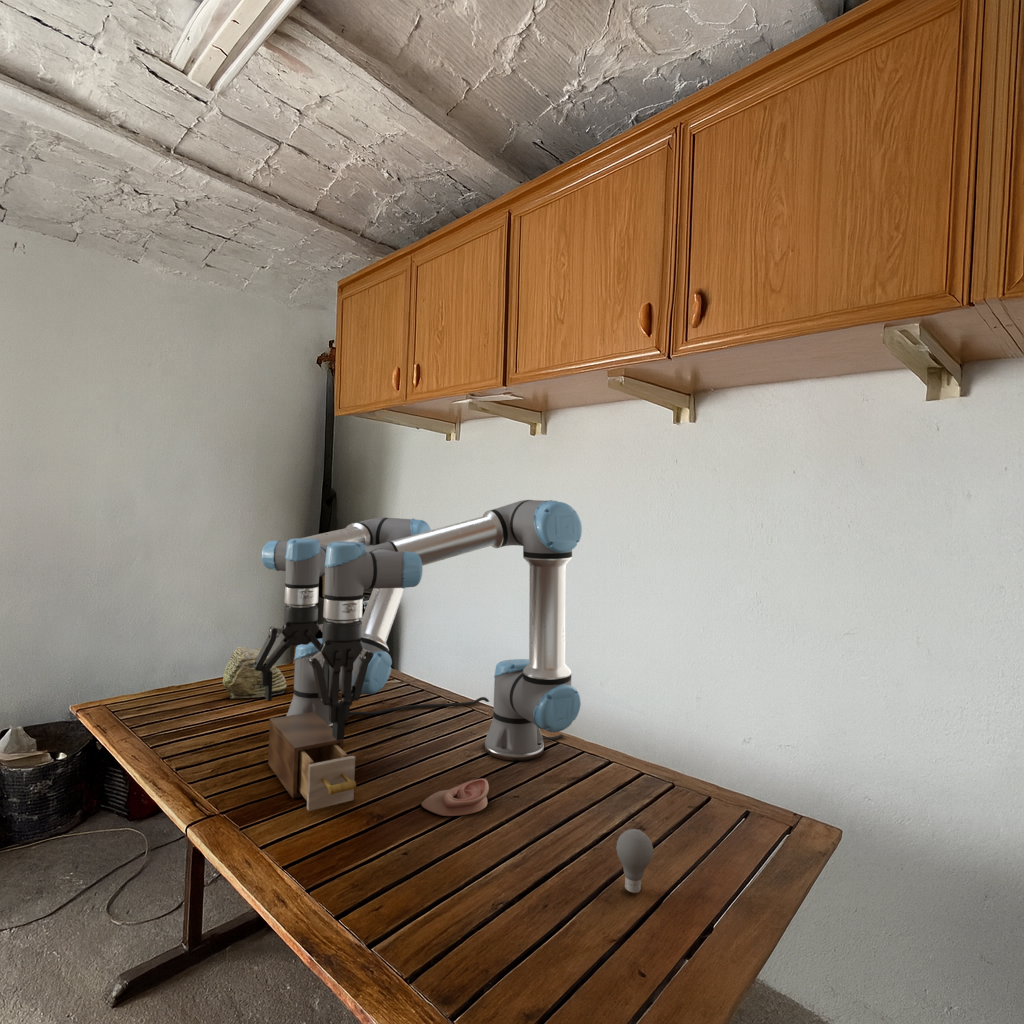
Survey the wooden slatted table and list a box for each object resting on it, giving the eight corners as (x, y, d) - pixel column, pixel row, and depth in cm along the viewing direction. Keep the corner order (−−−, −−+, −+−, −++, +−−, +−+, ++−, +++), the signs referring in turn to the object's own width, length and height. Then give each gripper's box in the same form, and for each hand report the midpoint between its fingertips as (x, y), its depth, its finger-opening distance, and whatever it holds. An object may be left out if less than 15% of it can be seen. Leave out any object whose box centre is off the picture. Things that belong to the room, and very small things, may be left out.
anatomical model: (416, 792, 129) (434, 769, 140) (415, 812, 129) (434, 787, 140) (479, 801, 126) (493, 777, 137) (479, 821, 126) (492, 795, 137)
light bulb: (610, 879, 108) (613, 822, 108) (644, 879, 109) (647, 822, 109) (619, 902, 102) (622, 840, 102) (655, 901, 103) (658, 840, 103)
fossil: (218, 695, 195) (220, 647, 195) (278, 685, 208) (279, 640, 207) (228, 703, 189) (230, 653, 188) (289, 692, 201) (290, 645, 201)
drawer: (365, 812, 126) (366, 768, 126) (318, 825, 121) (320, 778, 121) (323, 766, 146) (325, 728, 146) (282, 775, 141) (283, 735, 141)
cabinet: (341, 787, 138) (343, 738, 138) (292, 798, 132) (294, 747, 132) (312, 755, 155) (314, 711, 154) (267, 764, 149) (269, 718, 148)
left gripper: (248, 611, 138) (245, 708, 138) (358, 603, 152) (355, 691, 153) (240, 605, 144) (238, 698, 144) (347, 598, 158) (344, 683, 159)
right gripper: (316, 625, 119) (311, 750, 119) (381, 620, 126) (376, 737, 127) (303, 618, 125) (299, 736, 126) (366, 614, 133) (362, 725, 133)
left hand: (298, 695), depth 148 cm, fingers open, 13 cm apart
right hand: (338, 737), depth 126 cm, fingers closed
